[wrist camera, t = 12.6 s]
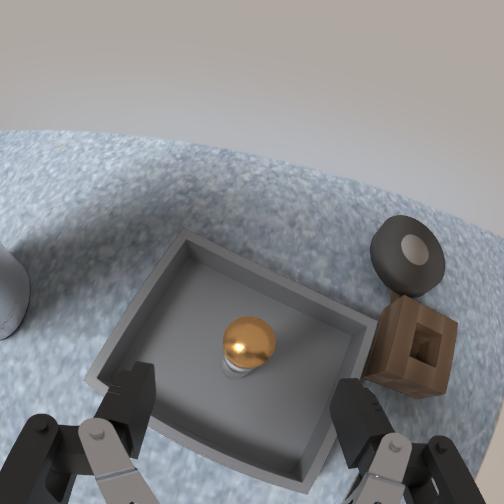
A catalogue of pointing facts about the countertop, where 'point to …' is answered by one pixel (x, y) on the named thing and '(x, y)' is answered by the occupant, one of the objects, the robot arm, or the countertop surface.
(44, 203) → the countertop surface
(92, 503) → the countertop surface
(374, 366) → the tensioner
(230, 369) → the lock pin
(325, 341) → the tray
